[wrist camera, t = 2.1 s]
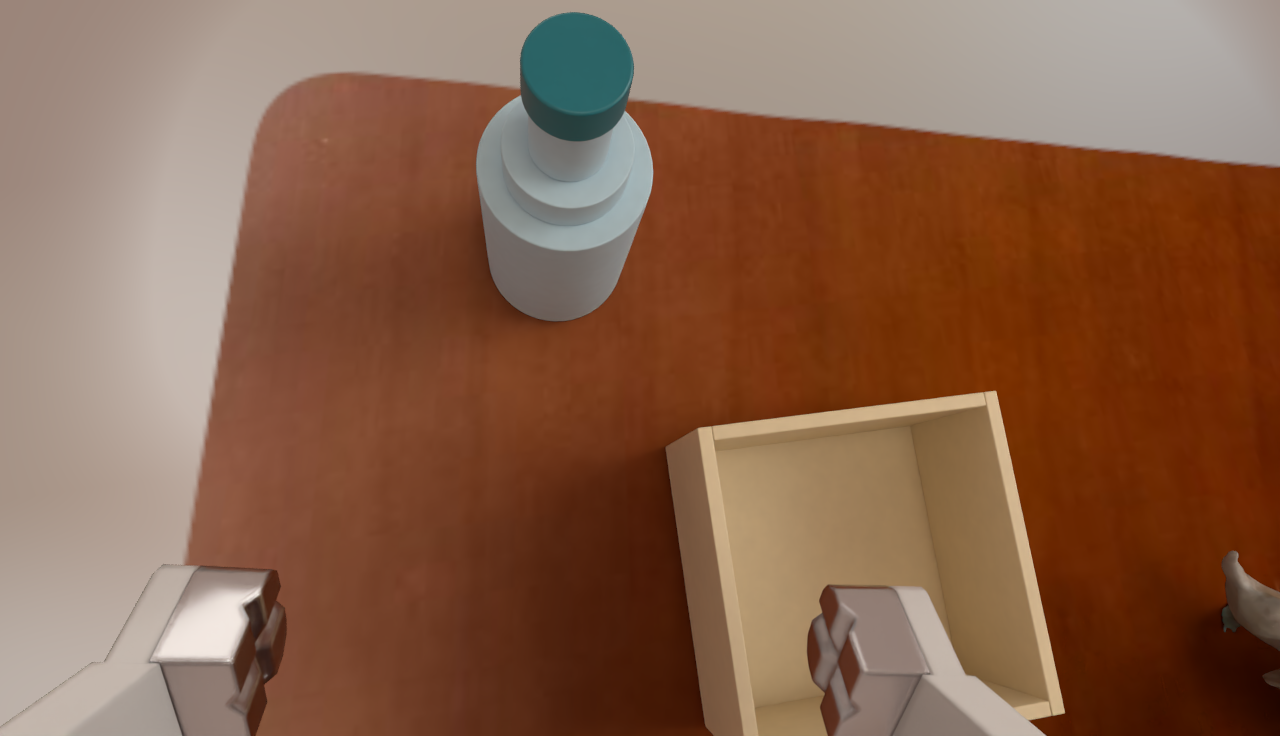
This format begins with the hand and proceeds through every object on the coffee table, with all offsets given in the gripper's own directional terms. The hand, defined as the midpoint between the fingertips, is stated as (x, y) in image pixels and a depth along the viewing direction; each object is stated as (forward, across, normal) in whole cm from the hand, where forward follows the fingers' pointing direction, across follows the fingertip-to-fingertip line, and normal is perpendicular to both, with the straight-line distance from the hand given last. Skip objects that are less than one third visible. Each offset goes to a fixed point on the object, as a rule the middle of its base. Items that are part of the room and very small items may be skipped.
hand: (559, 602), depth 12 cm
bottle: (+23, 0, +6) cm, 24 cm away
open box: (+15, -11, +14) cm, 23 cm away
